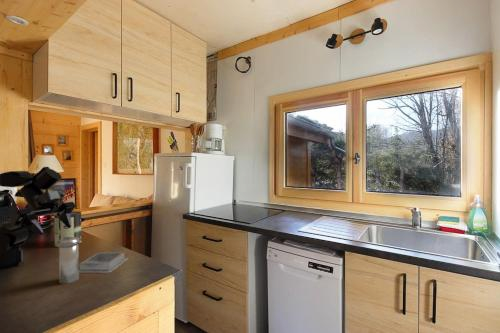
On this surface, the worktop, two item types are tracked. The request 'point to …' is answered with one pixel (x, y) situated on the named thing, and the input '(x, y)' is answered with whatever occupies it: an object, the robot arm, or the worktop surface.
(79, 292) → the worktop surface
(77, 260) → the lidded steel tumbler
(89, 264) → the collar
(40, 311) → the worktop surface
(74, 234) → the coffee can
